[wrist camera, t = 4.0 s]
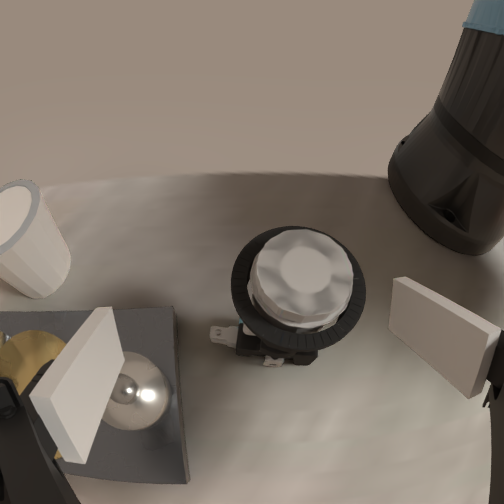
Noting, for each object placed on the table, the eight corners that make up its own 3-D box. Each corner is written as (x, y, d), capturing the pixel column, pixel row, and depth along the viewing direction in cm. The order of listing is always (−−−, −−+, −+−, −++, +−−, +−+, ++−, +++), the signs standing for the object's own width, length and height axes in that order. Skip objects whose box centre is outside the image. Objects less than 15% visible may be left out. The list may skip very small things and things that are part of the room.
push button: (205, 376, 18) (179, 326, 10) (218, 300, 21) (208, 200, 12) (312, 387, 18) (379, 345, 10) (315, 311, 21) (368, 220, 12)
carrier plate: (176, 315, 20) (164, 288, 17) (190, 479, 14) (178, 492, 11) (3, 318, 18) (-26, 296, 15) (-2, 451, 13) (-38, 447, 9)
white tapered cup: (81, 292, 20) (37, 238, 15) (13, 315, 19) (-40, 272, 13) (75, 223, 24) (43, 165, 18) (14, 247, 22) (-25, 198, 16)
